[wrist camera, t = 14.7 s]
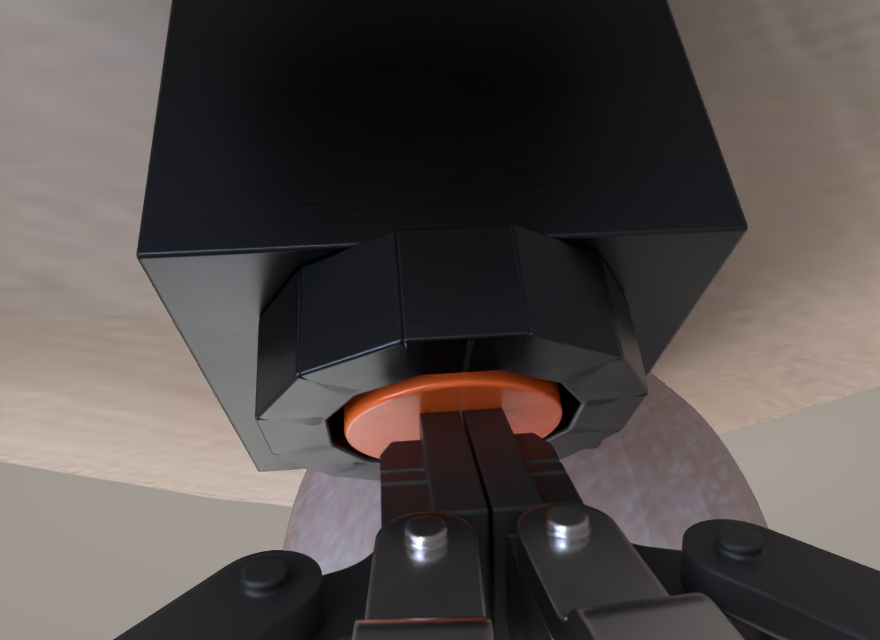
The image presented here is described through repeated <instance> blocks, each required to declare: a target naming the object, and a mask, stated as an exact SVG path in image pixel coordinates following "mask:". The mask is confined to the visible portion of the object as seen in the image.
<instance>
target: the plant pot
mask: <svg viewBox="0 0 880 640" xmlns="http://www.w3.org/2000/svg"><path fill="white" fill-rule="evenodd" d="M646 379H647V383H648V387H649V388H648V395H647V397H646V398H645V399H644V401H643V402H642V404H641V405H640V406H639V408H638V409H637V411H636V412H635V413H634V415H633V416H632V417H631V419H630V420H629V422H628V423H627V424H626V426H625V427H624V428H623V429H622V430H621V431H620V432H618V433H616V434H614V435H612V436H610V437H607V438H605V439H604V440H603V442H602V443H601V445H600V446H599V447H598V448H595V449H583V450H580V451H578V452H576V453H574V454H572V455H570V456H568V457H566V458H564V459H560V462H562V464H563V466H564V468H565V470H566V474H568V475H569V477H570V479H571V481H572V483H573V484H574V486H575V488H576V490H577V492H578V494H579V495H580V497H581V499H582V501H583V503H584V505H587V506H590V507H593V508H596V509H598V510H600V511H602V512H604V513H606V514H607V515H608V516H610V517H611V518H612V519H613V520H614V521H615V522H616V524H617V525H618V526H619V528H620V529H621V530H622V532H623V533H624V534H625V536H626V537H627V539H628V540H629V541H630V543H634V544H638V545H642V546H649V547H657V548H665V549H674V550H682V540H683V535H684V533H685V531H686V530H687V529H688V528H689V527H690V526H692V525H694V524H696V523H698V522H701V521H706V520H712V519H731V520H739V521H745V522H749V523H753V524H756V525H759V526H762V527H765V528H767V529H768V526H767V523H766V521H765V519H764V516H763V514H762V511H761V509H760V507H759V505H758V502H757V500H756V498H755V496H754V494H753V492H752V490H751V488H750V486H749V484H748V483H747V481H746V479H745V477H744V475H743V474H742V472H741V470H740V469H739V467H738V465H737V463H736V462H735V460H734V459H733V457H732V456H731V454H730V452H729V451H728V449H727V448H726V446H725V445H724V444H723V442H722V441H721V439H720V438H719V437H718V435H717V434H716V433H715V431H714V430H713V429H712V428H711V426H710V425H709V424H708V423H707V422H706V421H705V419H704V418H703V417H702V416H701V415H700V414H699V413H698V412H697V411H696V410H695V409H694V408H693V407H692V406H691V405H690V404H689V403H688V402H686V401H685V400H684V399H683V398H682V397H681V396H679V395H678V394H677V393H676V392H674V391H673V390H672V389H671V388H669V387H668V386H667V385H666V384H665V383H663V382H662V381H661V380H659V379H658V378H657V377H655V376H654V375H653V374H651V373H649V374H648V376H647V377H646ZM380 529H381V482H380V481H376V480H366V479H356V478H346V477H336V476H332V475H325V474H323V473H320V472H318V471H315V470H312V469H310V468H308V469H307V471H306V473H305V475H304V477H303V480H302V482H301V485H300V488H299V490H298V493H297V496H296V499H295V502H294V505H293V509H292V512H291V516H290V519H289V523H288V527H287V532H286V537H285V541H284V546H283V550H288V551H295V552H299V553H302V554H305V555H307V556H309V557H311V558H312V559H314V560H315V561H316V562H317V563H318V565H319V566H320V568H321V571H322V575H325V574H328V573H332V572H335V571H339V570H342V569H345V568H348V567H350V566H352V565H354V564H357V563H358V562H360V561H362V560H363V559H365V558H366V557H367V556H369V555H370V554H371V553H372V552H373V551H374V544H375V538H376V535H377V533H378V531H379V530H380Z"/></svg>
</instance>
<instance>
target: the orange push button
mask: <svg viewBox="0 0 880 640" xmlns="http://www.w3.org/2000/svg"><path fill="white" fill-rule="evenodd" d="M497 408H502V409H503V411H504V413H505V415H506V417H507V420H508V422H509V424H510V426H511V429H512V431H513V433H514V434H519V433H535V434H536V435H538V436H539V437H541V438H544V437H545V436H547V435H548V434H549V433H551V432H552V431H553V430H554V429H555V428H556V427H557V425H558V424H559V422H560V420H561V417H562V405H561V399H560V394H559V388H558V382H554V381H549V380H544V379H539V378H534V377H529V376H524V375H519V374H514V373H509V372H505V371H500V370H497V371H480V372H464V373H447V374H431V375H421V376H417V377H414V378H411V379H408V380H404V381H401V382H398V383H394V384H391V385H388V386H384V387H381V388H378V389H374V390H371V391H368V392H364V393H361V394H358V395H356V396H355V397H353V398H352V399H351V400H350V401H349V402H347V403H346V404H345V405H344V434H345V436H346V439H347V441H348V442H349V443H350V445H351V446H353V447H354V448H355V449H356V450H358V451H360V452H362V453H364V454H366V455H369V456H372V457H375V458H379V459H380V455H381V454H382V453H383V451H384V450H385V449H386V448H387V447H388V445H389V444H390V443H391V442H394V441H410V440H420V434H419V414H420V413H432V412H449V411H459V412H460V415H461V417H462V411H464V410H480V409H497Z"/></svg>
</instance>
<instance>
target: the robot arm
mask: <svg viewBox="0 0 880 640" xmlns="http://www.w3.org/2000/svg"><path fill="white" fill-rule="evenodd" d="M419 434H420V440H410V441H394V442H391V443H390V444H389V445H388V447H387V448H386V449H385V450H384V451H383V453H382V454H381V455H380V482H381V529H380V530H379V531H378V533H377V535H376V538H375V544H374V551H373V552H372V553H371V554H370V555H369V556H367V557H366V558H365V559H363V560H362V561H360V562H358V563H357V564H354V565H352V566H350V567H348V568H345V569H342V570H339V571H335V572H332V573H328V574H325V575H322V571H321V568H320V566H319V565H318V563H317V562H316V561H315V560H314V559H312V558H311V557H309V556H307V555H305V554H302V553H299V552H295V551H288V550H271V551H264V552H259V553H255V554H251V555H248V556H245V557H242V558H240V559H238V560H236V561H234V562H232V563H230V564H229V565H227V566H225V567H224V568H222V569H221V570H219V571H218V572H216V573H215V574H213V575H212V576H210V577H209V578H207V579H206V580H204V581H203V582H201V583H200V584H198V585H196V586H195V587H193V588H192V589H190V590H189V591H187V592H186V593H184V594H183V595H181V596H179V597H178V598H177V599H175V600H173V601H172V602H170V603H169V604H167V605H166V606H164V607H163V608H161V609H160V610H158V611H156V612H155V613H154V614H152V615H150V616H149V617H148V618H146V619H144V620H143V621H141V622H140V623H138V624H137V625H135V626H134V627H132V628H131V629H129V630H127V631H126V632H125V633H123V634H121V635H120V636H118V637H117V638H115V639H114V640H880V571H878V570H875V569H872V568H870V567H867V566H865V565H862V564H859V563H857V562H854V561H851V560H849V559H846V558H843V557H841V556H838V555H836V554H833V553H830V552H827V551H825V550H823V549H820V548H817V547H814V546H812V545H809V544H807V543H804V542H801V541H799V540H796V539H794V538H791V537H788V536H786V535H783V534H780V533H778V532H775V531H773V530H770V529H767V528H765V527H762V526H759V525H756V524H753V523H749V522H745V521H739V520H731V519H712V520H706V521H701V522H698V523H696V524H694V525H692V526H690V527H689V528H688V529H687V530H686V531H685V533H684V535H683V540H682V550H674V549H665V548H657V547H649V546H642V545H638V544H634V543H630V541H629V540H628V539H627V537H626V536H625V534H624V533H623V532H622V530H621V529H620V528H619V526H618V525H617V524H616V522H615V521H614V520H613V519H612V518H611V517H610V516H608V515H607V514H606V513H604V512H602V511H600V510H598V509H596V508H593V507H590V506H587V505H584V503H583V501H582V499H581V497H580V495H579V494H578V492H577V490H576V488H575V486H574V484H573V483H572V481H571V479H570V477H569V475H568V474H566V470H565V468H564V466H563V464H562V462H560V459H559V457H558V455H557V453H556V451H555V450H554V448H553V446H552V444H550V443H549V442H547V441H546V440H544V439H543V438H541V437H539V436H538V435H536V434H535V433H519V434H514V433H513V431H512V429H511V426H510V424H509V422H508V420H507V417H506V415H505V413H504V411H503V409H502V408H497V409H480V410H464V411H462V417H461V415H460V412H459V411H449V412H432V413H420V414H419Z"/></svg>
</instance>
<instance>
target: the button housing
mask: <svg viewBox="0 0 880 640" xmlns="http://www.w3.org/2000/svg"><path fill="white" fill-rule="evenodd" d="M746 231H747V222H746V220H745V217H744V214H743V211H742V208H741V206H740V203H739V200H738V197H737V194H736V192H735V189H734V186H733V183H732V180H731V178H730V175H729V172H728V169H727V167H726V164H725V161H724V158H723V155H722V153H721V150H720V147H719V144H718V141H717V139H716V136H715V133H714V130H713V127H712V125H711V122H710V119H709V116H708V113H707V111H706V108H705V105H704V102H703V100H702V97H701V94H700V91H699V88H698V86H697V83H696V80H695V77H694V74H693V72H692V69H691V66H690V63H689V60H688V58H687V55H686V52H685V49H684V46H683V44H682V41H681V38H680V35H679V33H678V30H677V27H676V24H675V21H674V19H673V16H672V13H671V10H670V7H669V5H668V2H667V0H172V5H171V12H170V19H169V26H168V33H167V40H166V47H165V55H164V62H163V69H162V76H161V83H160V90H159V97H158V105H157V112H156V119H155V126H154V133H153V140H152V148H151V155H150V162H149V169H148V176H147V183H146V190H145V198H144V205H143V212H142V219H141V226H140V233H139V240H138V248H137V255H136V256H137V258H138V260H139V262H140V264H141V265H142V267H143V269H144V271H145V273H146V274H147V276H148V278H149V280H150V281H151V283H152V285H153V287H154V288H155V290H156V292H157V294H158V295H159V297H160V299H161V301H162V302H163V304H164V306H165V308H166V309H167V311H168V313H169V315H170V316H171V318H172V320H173V322H174V323H175V325H176V327H177V329H178V331H179V332H180V334H181V336H182V338H183V339H184V341H185V343H186V345H187V346H188V348H189V350H190V352H191V353H192V355H193V357H194V359H195V360H196V362H197V364H198V366H199V367H200V369H201V371H202V373H203V374H204V376H205V378H206V380H207V381H208V383H209V385H210V387H211V389H212V390H213V392H214V394H215V396H216V397H217V399H218V401H219V403H220V404H221V406H222V408H223V410H224V411H225V413H226V415H227V417H228V418H229V420H230V422H231V424H232V425H233V427H234V429H235V431H236V432H237V434H238V436H239V438H240V440H241V441H242V443H243V445H244V447H245V448H246V450H247V452H248V454H249V455H250V457H251V459H252V461H253V462H254V464H255V466H256V468H257V469H258V471H260V472H265V471H280V470H294V469H308V468H310V469H312V470H315V471H318V472H320V473H323V474H325V475H332V476H336V477H346V478H356V479H366V480H376V481H380V459H379V458H375V457H372V456H369V455H366V454H364V453H362V452H360V451H358V450H356V449H355V448H354V447H353V446H351V445H350V443H349V442H348V441H347V439H346V436H345V434H344V405H345V404H346V403H347V402H349V401H350V400H351V399H352V398H353V397H355V396H356V395H358V394H361V393H364V392H368V391H371V390H374V389H378V388H381V387H384V386H388V385H391V384H394V383H398V382H401V381H404V380H408V379H411V378H414V377H417V376H421V375H431V374H447V373H464V372H480V371H497V370H500V371H505V372H509V373H514V374H519V375H524V376H529V377H534V378H539V379H544V380H549V381H554V382H558V388H559V394H560V399H561V405H562V417H561V420H560V422H559V424H558V425H557V427H556V428H555V429H554V430H553V431H552V432H551V433H549V434H548V435H547V436H545V437H544V438H543V439H544V440H546V441H547V442H549V443H550V444H552V446H553V448H554V450H555V451H556V453H557V455H558V457H559V459H564V458H566V457H568V456H570V455H572V454H574V453H576V452H578V451H580V450H583V449H595V448H598V447H599V446H600V445H601V443H602V442H603V440H604V439H605V438H607V437H610V436H612V435H614V434H616V433H618V432H620V431H621V430H622V429H623V428H624V427H625V426H626V424H627V423H628V422H629V420H630V419H631V417H632V416H633V415H634V413H635V412H636V411H637V409H638V408H639V406H640V405H641V404H642V402H643V401H644V399H645V398H646V397H647V395H648V388H649V387H648V383H647V379H646V377H647V376H648V374H649V373H650V371H651V370H652V368H653V367H654V365H655V364H656V363H657V361H658V360H659V358H660V357H661V355H662V354H663V352H664V351H665V349H666V348H667V346H668V345H669V344H670V342H671V341H672V339H673V338H674V336H675V335H676V333H677V332H678V330H679V329H680V327H681V326H682V325H683V323H684V322H685V320H686V319H687V317H688V316H689V314H690V313H691V311H692V310H693V308H694V307H695V305H696V304H697V303H698V301H699V300H700V298H701V297H702V295H703V294H704V292H705V291H706V289H707V288H708V286H709V285H710V284H711V282H712V281H713V279H714V278H715V276H716V275H717V273H718V272H719V270H720V269H721V267H722V266H723V264H724V263H725V262H726V260H727V259H728V257H729V256H730V254H731V253H732V251H733V250H734V248H735V247H736V245H737V244H738V243H739V241H740V240H741V238H742V237H743V235H744V234H745V232H746Z"/></svg>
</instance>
